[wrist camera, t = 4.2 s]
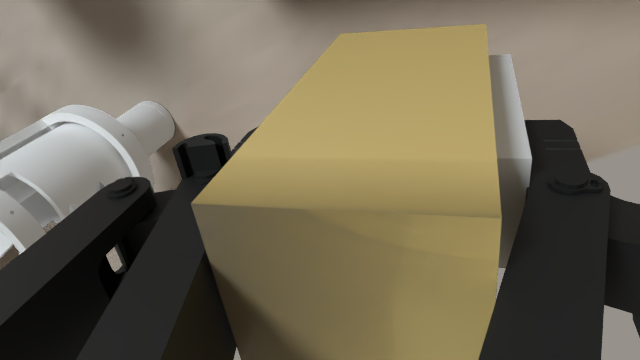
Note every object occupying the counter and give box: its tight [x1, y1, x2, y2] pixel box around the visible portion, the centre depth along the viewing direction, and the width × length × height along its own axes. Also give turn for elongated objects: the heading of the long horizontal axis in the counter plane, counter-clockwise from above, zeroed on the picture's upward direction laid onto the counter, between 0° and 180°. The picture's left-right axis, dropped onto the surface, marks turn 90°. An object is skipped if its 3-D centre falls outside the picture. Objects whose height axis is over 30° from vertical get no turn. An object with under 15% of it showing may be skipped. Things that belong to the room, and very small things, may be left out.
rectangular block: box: [191, 24, 502, 360], centre depth 12 cm, size 4×4×10 cm
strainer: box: [0, 101, 175, 258], centre depth 26 cm, size 7×7×15 cm
